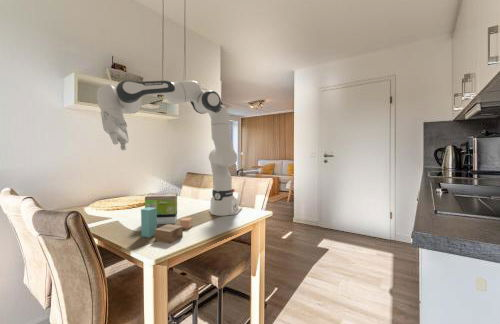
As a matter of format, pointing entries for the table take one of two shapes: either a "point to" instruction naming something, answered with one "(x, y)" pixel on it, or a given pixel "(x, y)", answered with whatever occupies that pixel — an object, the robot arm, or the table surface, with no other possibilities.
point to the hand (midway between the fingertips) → (119, 147)
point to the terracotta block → (186, 222)
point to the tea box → (163, 206)
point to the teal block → (148, 221)
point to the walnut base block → (168, 233)
